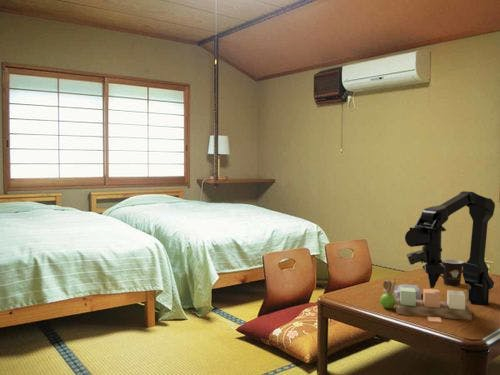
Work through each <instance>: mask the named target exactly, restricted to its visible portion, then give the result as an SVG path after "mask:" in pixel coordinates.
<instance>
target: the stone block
mask: <svg viewBox="0 0 500 375" xmlns="http://www.w3.org/2000/svg"><path fill="white" fill-rule="evenodd" d="M400 287H404V288H415V291H416V299H417V300H422V291H421V289H420V288H419V286H418V285H416V284H415V285H413V284H407V283H405V284H399V285H397V284H396V285H395V289H394V292H393V293H394V297H395V298H400Z"/></svg>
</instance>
